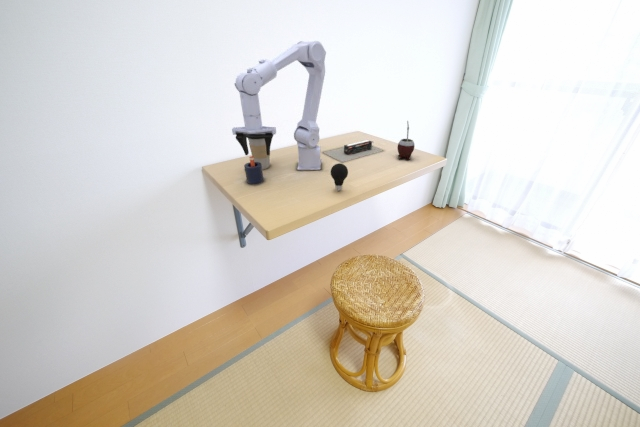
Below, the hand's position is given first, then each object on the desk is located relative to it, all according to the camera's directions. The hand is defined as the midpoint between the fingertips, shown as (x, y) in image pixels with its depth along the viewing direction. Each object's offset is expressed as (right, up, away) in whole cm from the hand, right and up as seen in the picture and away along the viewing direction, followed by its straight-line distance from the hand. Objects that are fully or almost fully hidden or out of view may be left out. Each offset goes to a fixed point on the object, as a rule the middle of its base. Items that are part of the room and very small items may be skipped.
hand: (257, 154), depth 92 cm
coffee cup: (-2, -1, +17) cm, 17 cm away
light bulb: (+29, -13, -2) cm, 32 cm away
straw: (-2, -8, +5) cm, 10 cm away
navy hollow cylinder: (-2, -9, +5) cm, 11 cm away
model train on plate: (+38, +8, +32) cm, 50 cm away
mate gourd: (+60, +4, +25) cm, 65 cm away
